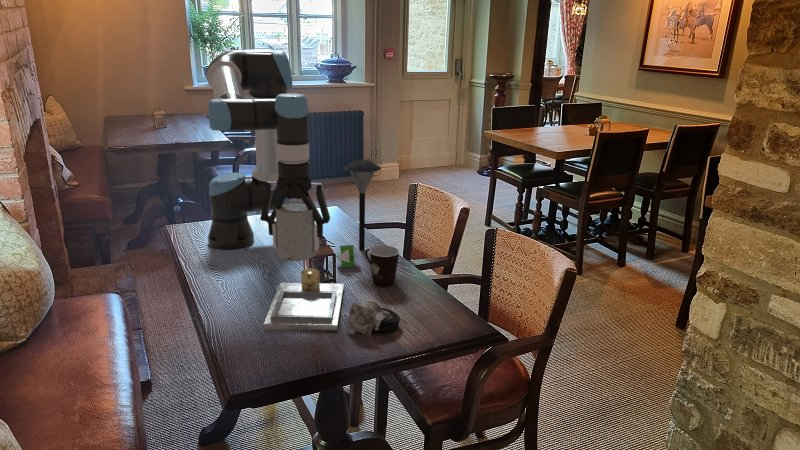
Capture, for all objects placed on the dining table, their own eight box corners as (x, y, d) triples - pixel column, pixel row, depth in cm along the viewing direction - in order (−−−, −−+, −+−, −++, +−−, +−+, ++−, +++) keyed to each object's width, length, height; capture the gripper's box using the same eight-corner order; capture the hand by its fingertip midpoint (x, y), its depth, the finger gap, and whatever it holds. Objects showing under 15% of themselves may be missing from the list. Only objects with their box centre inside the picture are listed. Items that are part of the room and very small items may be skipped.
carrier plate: (280, 287, 163) (279, 266, 161) (343, 288, 164) (343, 267, 161) (263, 329, 140) (262, 305, 138) (337, 330, 141) (337, 306, 139)
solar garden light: (365, 259, 185) (366, 168, 175) (336, 250, 191) (335, 163, 182) (386, 248, 195) (388, 162, 185) (358, 240, 201) (358, 156, 191)
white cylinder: (292, 264, 137) (290, 215, 133) (269, 253, 144) (267, 206, 140) (323, 254, 144) (322, 207, 140) (300, 244, 150) (299, 199, 146)
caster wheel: (399, 332, 146) (386, 345, 137) (360, 315, 149) (344, 327, 140) (407, 308, 145) (393, 320, 135) (367, 292, 148) (351, 302, 138)
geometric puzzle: (334, 253, 183) (336, 240, 176) (355, 252, 185) (357, 238, 178) (336, 273, 179) (339, 260, 173) (358, 271, 181) (361, 258, 174)
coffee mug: (402, 286, 166) (403, 254, 163) (374, 290, 163) (374, 257, 160) (389, 271, 176) (390, 241, 173) (362, 274, 173) (363, 243, 170)
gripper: (342, 158, 139) (342, 244, 146) (252, 155, 140) (257, 241, 147) (337, 165, 132) (338, 255, 139) (242, 162, 133) (248, 251, 140)
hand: (296, 247), depth 143 cm, fingers closed on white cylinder, 9 cm apart
